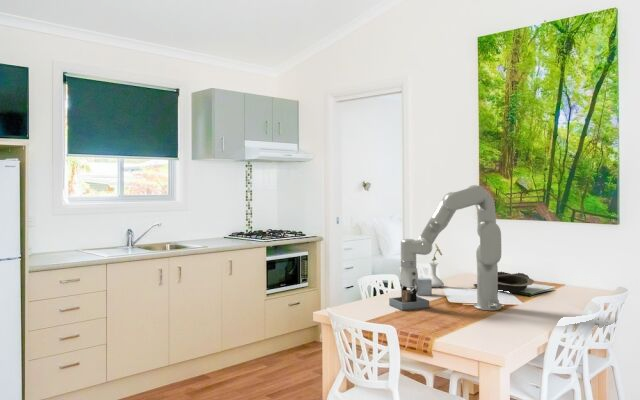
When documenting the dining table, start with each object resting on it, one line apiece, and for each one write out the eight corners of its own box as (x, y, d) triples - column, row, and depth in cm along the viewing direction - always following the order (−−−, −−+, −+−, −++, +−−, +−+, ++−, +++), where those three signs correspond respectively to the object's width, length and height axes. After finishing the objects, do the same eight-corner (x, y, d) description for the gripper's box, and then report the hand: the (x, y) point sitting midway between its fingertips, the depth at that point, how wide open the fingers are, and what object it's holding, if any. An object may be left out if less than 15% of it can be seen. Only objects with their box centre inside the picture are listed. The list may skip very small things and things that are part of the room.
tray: (429, 307, 260) (429, 300, 260) (402, 310, 254) (402, 303, 254) (415, 302, 272) (415, 295, 272) (389, 305, 267) (389, 298, 266)
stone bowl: (499, 284, 313) (501, 268, 312) (541, 293, 295) (542, 277, 294) (477, 290, 296) (478, 273, 295) (520, 300, 278) (521, 283, 277)
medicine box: (430, 293, 291) (430, 278, 291) (431, 295, 287) (431, 279, 286) (416, 293, 292) (416, 278, 292) (417, 295, 287) (416, 279, 287)
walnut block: (416, 305, 262) (415, 291, 261) (407, 306, 260) (406, 292, 260) (410, 303, 266) (410, 289, 266) (402, 304, 265) (401, 290, 264)
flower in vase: (439, 289, 302) (439, 245, 301) (420, 287, 308) (420, 244, 307) (447, 285, 313) (447, 243, 312) (429, 283, 319) (429, 242, 318)
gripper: (424, 266, 256) (425, 302, 256) (406, 261, 272) (406, 295, 272) (411, 267, 253) (411, 303, 254) (393, 262, 269) (393, 296, 270)
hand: (408, 299), depth 263 cm, fingers open, 8 cm apart
